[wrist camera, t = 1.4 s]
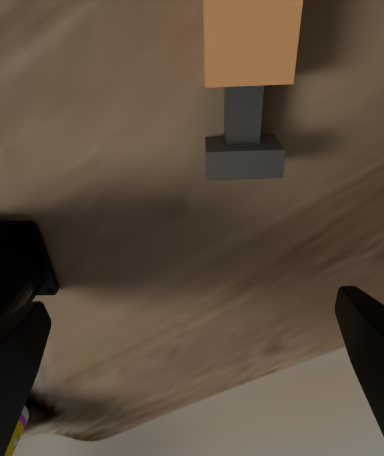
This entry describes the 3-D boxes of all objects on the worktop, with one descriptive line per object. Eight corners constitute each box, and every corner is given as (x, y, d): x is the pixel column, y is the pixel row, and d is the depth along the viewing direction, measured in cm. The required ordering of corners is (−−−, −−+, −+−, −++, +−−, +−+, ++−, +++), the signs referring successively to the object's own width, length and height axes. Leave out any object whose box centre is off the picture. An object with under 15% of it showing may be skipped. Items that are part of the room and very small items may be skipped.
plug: (271, 159, 19) (282, 177, 16) (205, 161, 19) (206, 179, 16) (291, -59, 14) (312, -83, 11) (201, -54, 14) (202, -76, 11)
